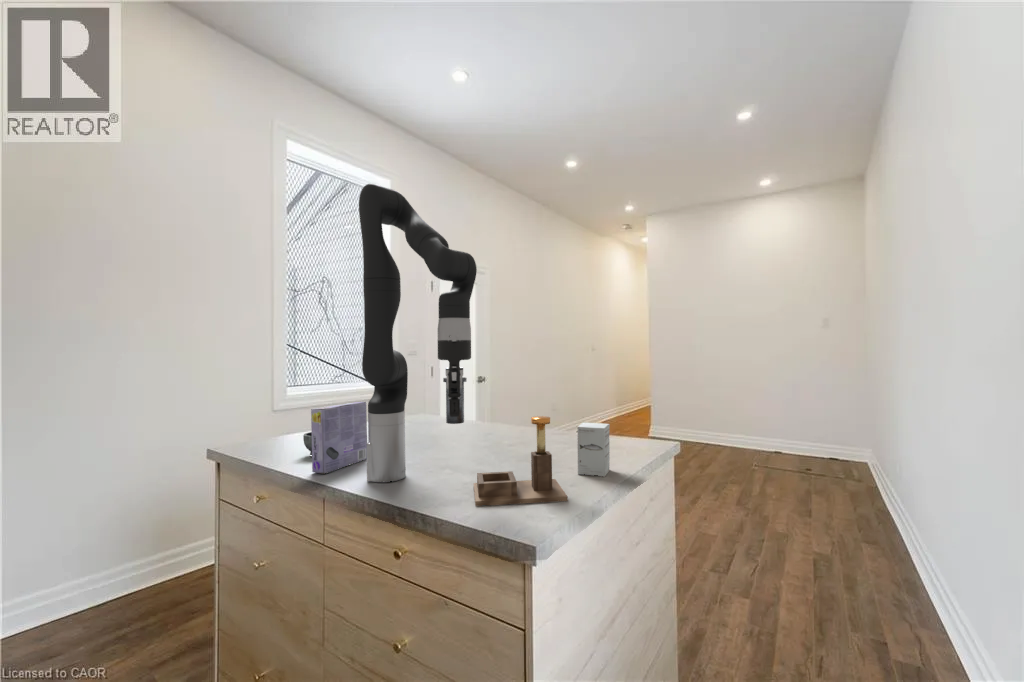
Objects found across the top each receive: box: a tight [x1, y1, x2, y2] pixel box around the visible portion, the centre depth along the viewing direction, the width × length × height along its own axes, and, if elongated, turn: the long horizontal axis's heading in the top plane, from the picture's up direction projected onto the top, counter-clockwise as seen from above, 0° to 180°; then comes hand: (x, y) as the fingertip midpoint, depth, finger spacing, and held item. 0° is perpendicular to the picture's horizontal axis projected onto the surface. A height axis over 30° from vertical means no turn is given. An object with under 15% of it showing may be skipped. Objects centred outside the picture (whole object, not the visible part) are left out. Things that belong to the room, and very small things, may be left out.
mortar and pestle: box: [303, 431, 312, 456], centre depth 147 cm, size 11×9×12 cm
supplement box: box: [577, 422, 611, 477], centre depth 122 cm, size 7×7×13 cm
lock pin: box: [530, 415, 551, 455], centre depth 106 cm, size 4×4×10 cm
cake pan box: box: [310, 401, 368, 475], centre depth 133 cm, size 19×5×18 cm, turn 159°
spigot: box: [442, 376, 467, 425], centre depth 104 cm, size 5×5×10 cm
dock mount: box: [473, 450, 569, 507], centre depth 106 cm, size 20×13×9 cm, turn 96°
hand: (454, 414), depth 104 cm, fingers closed on spigot, 4 cm apart
